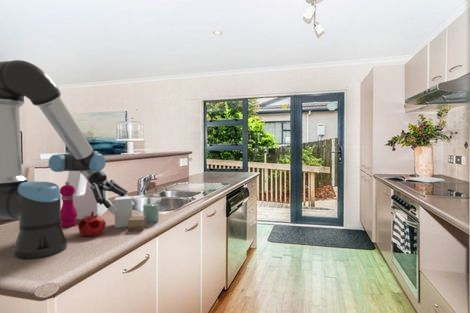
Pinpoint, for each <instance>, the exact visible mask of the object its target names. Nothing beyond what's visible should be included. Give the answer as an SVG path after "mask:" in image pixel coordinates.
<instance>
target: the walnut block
mask: <svg viewBox="0 0 470 313" xmlns="http://www.w3.org/2000/svg"><path fill="white" fill-rule="evenodd" d="M146 225H147V224H146V216H143V215H139V216H138V215H136V216H135V215H134V216H133V215H132V217H131V218H130V219H129V220H128V228H127V229H128V232H142V231H141V230H143V231H144V230H145V229H146V228H147V226H146ZM144 228H145V229H144Z"/></svg>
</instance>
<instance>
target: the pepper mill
mask: <svg viewBox="0 0 470 313" xmlns="http://www.w3.org/2000/svg"><path fill="white" fill-rule="evenodd" d="M64 183H65V184H64V185H62V186H61V187H59V189H60V195H61V197H60V200H62V205H61V228H69V227H75V226H77V219H76V217H77V211H76V209H75V207H74V204H73V198H74V195H73V194H74V193H75V188H74V186H72V185H69V184H70V183H69V182H67V181H66V182H64Z"/></svg>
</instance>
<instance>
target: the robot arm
mask: <svg viewBox="0 0 470 313" xmlns="http://www.w3.org/2000/svg"><path fill="white" fill-rule="evenodd" d="M61 96H62V92H61V90H60V89H59V87H58V86H57V84H56V83H55V81H54V80H53V79H52V78H51V77H50V76H49V75H48V74H47V72H45V71H44V70H42V69H41V68H40V67H38V66H37V65H35V64H33V63H31V62H30V61H25V60H20V59H18V60H17V59H14V60H8V61H7V60H6V61H5V60H4V61H0V220H18V222H19V223H18V224H19V232H18V236H17V237H16V238H17V239H16V241H15V244H14V247H13V257H14V258H16V259H22V260H23V259H24V260H25V259H26V260H29V259H38V258H43V257H44V258H45V257H49V256H51V255H55V254H58V253H61V252H63V251H64V250H65V249H67V248H68V241H67V240H68V239H67V238H66V237H65V236H66V235H65V233H64V230H63V227H61V222H62V221H61V208H62V205H61V203H62V201H61V198H62V197H61V196H62V195H61V194H60V187H59V185H58V184H57V183H54V182H50V181H36V180H35V181H28V178H27V177H26V176H24V174H23V167H22V165H23V164H22V150H21V149H22V143H21V141H22V140H21V125H20V124H21V123H20V108H21V107H22V106H23V105H24V104H25V97H26V98H27V99H28V100H29V101H30V102H31V104H32V105H33V106H37V107H38V108H39V109H40V110H41V113H43V115H44V116H45V118H46V119H47V121H48V122H49V123H50V125H51V126H52V128H53V129H54V130H55V132H56V133H57V135H58V136H59V138H60V139H61V141H62V142H63V143H64V145H65V146H66V148H68V153H58V154H56V153H55V154H53V155H51V156H49V159H48V167H49V169H50V170H51V171H53V172H55V173H57V172H58V173H59V172H60V173H63V172H69V171H80V172H81V173H82V174H83V176H84V177H85V178H86V180H88V182H89V183H90V184H91V186H90V188H91V189H92V191H93V193H94V196H95V199H96V202H97V203H99V204H100V205H102V204H103V205H104V206H105V207H106V208H107V209H108V210H107V211H108V212H110V213H111V215H115V212H116V211H117V209H116V208H115V207H114V204H113V203H112V202H111V201H110V200H109V199H107V200H106V193H105V191H107V192H112V193H114V194H116V195H118V196H119V197H126V196H128V193H129V192H128V190H127V189H125V188H124V187H122V186H121V185H119V184H118V183H116V181H114V179H111V180H108V179H107V178H108V176H107V175H106V173H105V172H103V171H104V168H105V167H106V164H107V163H106V162H107V161H106V157H105V156H104V155H103V154H101V153H97V152H96V153H95V151H94V149H93V148H92V146H91V145H90V143H89V141H88V140H87V138H86V136H85V134H84V133H83V131H82V129H81V128H80V126H79V125H78V124H77V122H76V121H75V118H74V117H73V115H72V114H71V111H69V109H68V108H67V106H66V105H65V103H64V101H63V100H62V98H61ZM102 169H103V171H101V170H102ZM134 205H135V202H134V201H133V200H132V207H133V206H134Z"/></svg>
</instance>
